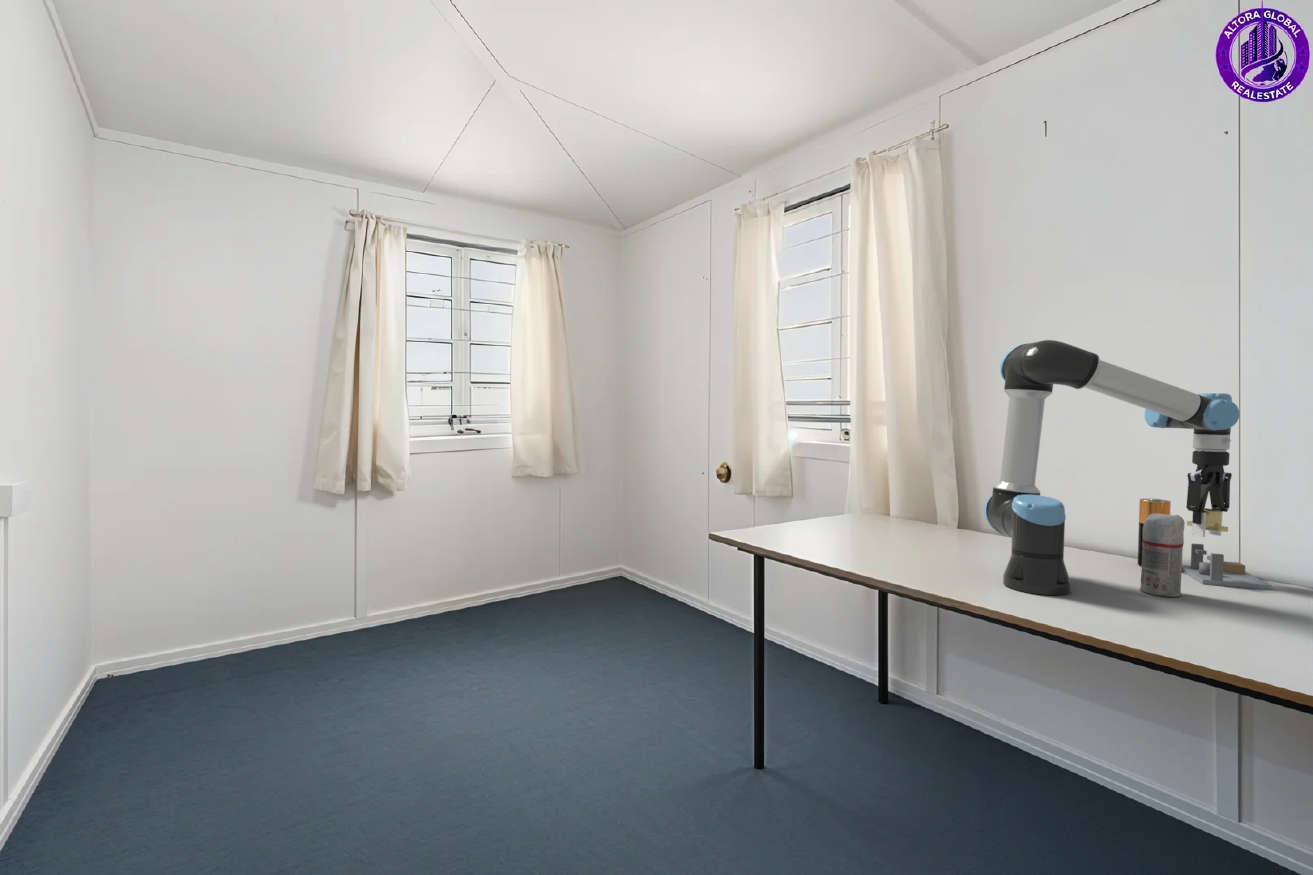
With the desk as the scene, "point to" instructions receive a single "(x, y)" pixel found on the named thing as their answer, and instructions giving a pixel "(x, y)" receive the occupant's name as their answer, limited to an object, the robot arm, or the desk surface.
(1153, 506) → the battery
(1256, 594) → the desk surface
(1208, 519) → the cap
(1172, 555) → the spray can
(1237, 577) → the base
